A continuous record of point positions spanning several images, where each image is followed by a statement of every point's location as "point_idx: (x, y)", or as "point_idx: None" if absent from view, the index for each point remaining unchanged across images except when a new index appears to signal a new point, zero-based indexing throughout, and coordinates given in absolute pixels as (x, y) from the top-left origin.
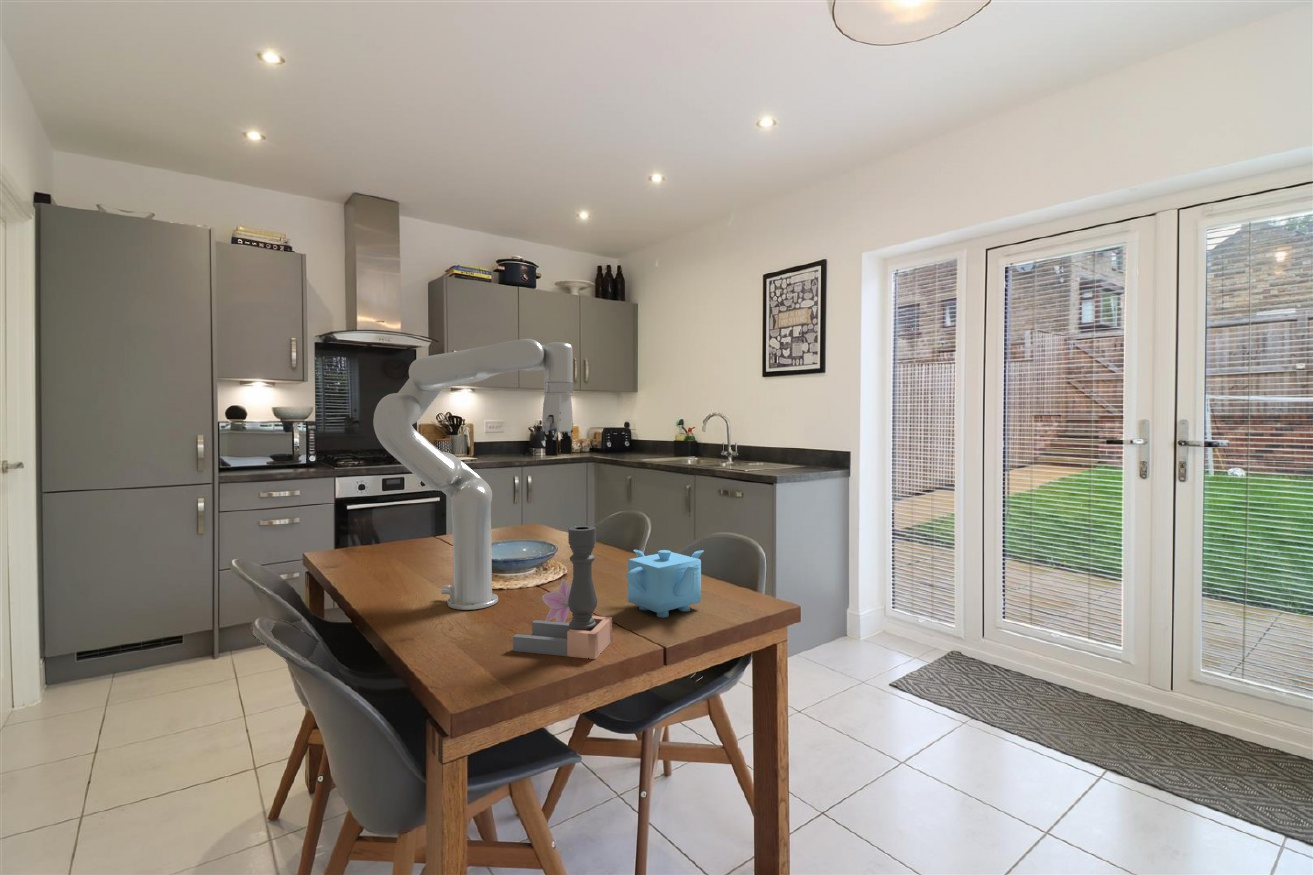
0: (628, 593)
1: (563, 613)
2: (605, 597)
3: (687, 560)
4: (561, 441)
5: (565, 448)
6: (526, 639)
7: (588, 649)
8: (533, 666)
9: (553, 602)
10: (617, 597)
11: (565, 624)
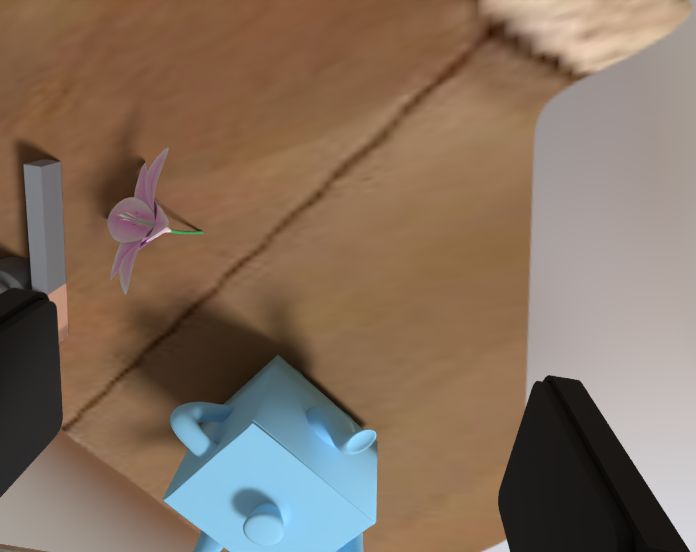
0: (272, 366)
1: (123, 221)
2: (372, 278)
3: None
4: (595, 523)
5: (533, 486)
6: None
7: None
8: None
9: (149, 188)
10: (375, 309)
11: (34, 249)
